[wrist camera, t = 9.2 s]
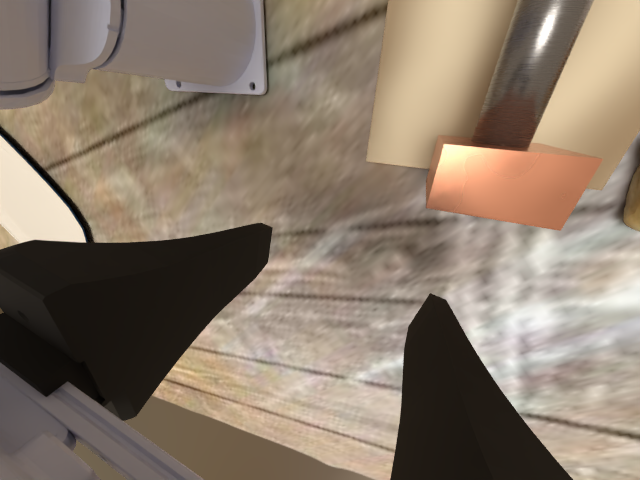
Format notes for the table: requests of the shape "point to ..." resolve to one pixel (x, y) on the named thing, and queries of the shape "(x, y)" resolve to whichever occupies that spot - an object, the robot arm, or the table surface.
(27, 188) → the plate
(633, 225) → the pastry
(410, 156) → the latch board
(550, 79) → the bolt
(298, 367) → the table surface
